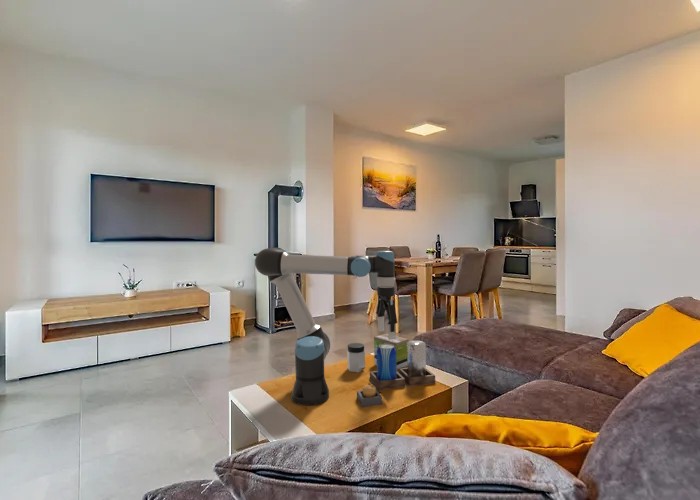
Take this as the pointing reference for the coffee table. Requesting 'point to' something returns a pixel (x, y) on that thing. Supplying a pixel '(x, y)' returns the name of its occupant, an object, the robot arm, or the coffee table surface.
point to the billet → (416, 358)
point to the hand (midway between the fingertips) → (386, 335)
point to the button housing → (369, 399)
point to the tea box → (398, 344)
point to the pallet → (401, 380)
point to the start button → (369, 391)
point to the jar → (355, 357)
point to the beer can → (386, 362)
